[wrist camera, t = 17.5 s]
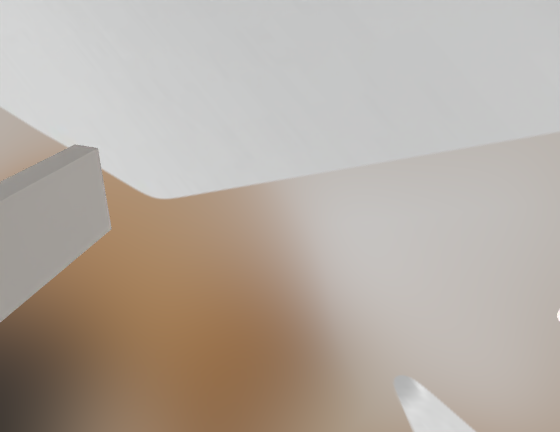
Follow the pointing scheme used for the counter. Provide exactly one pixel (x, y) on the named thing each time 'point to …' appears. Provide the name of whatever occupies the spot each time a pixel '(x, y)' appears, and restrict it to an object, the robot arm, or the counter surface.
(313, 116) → the counter surface
